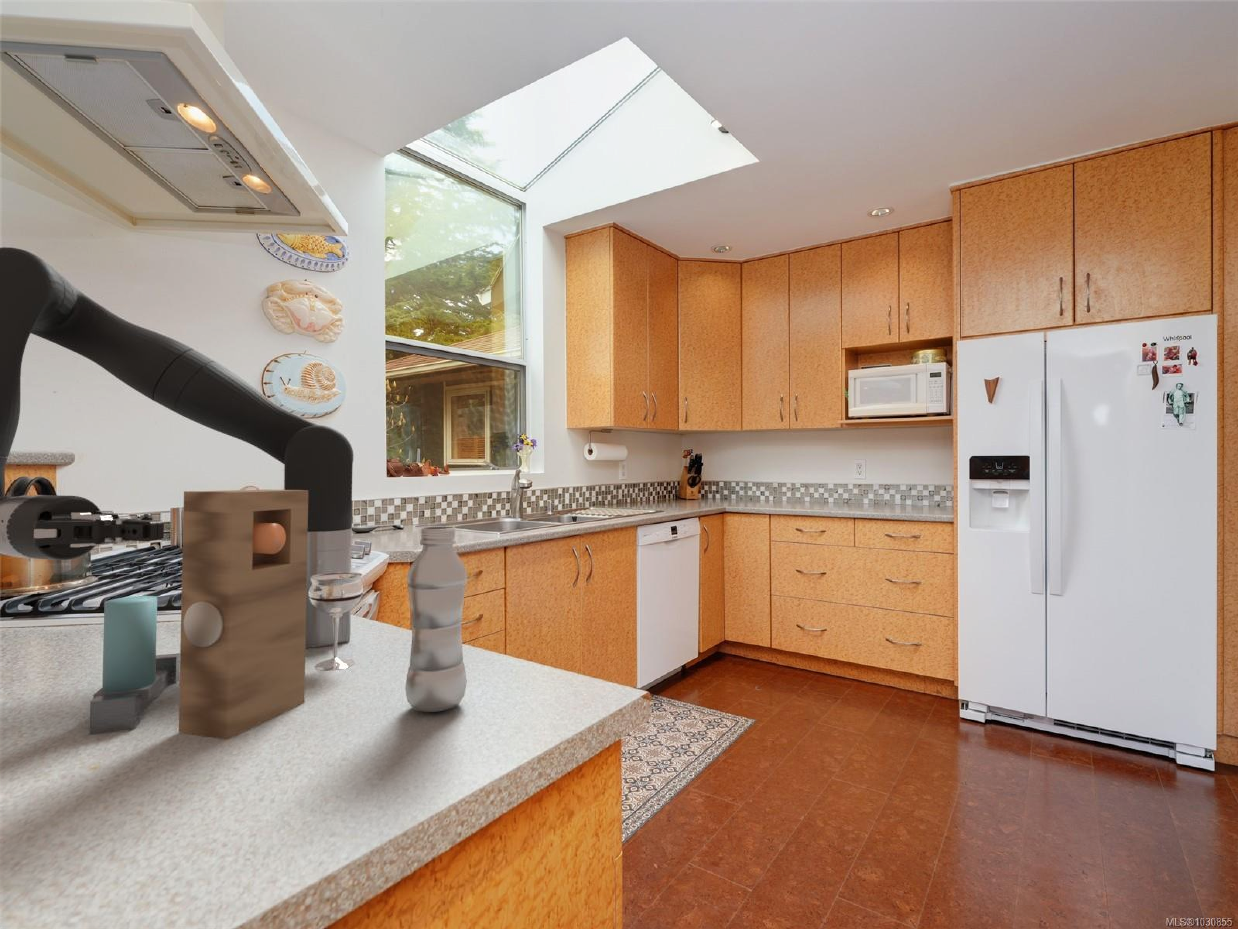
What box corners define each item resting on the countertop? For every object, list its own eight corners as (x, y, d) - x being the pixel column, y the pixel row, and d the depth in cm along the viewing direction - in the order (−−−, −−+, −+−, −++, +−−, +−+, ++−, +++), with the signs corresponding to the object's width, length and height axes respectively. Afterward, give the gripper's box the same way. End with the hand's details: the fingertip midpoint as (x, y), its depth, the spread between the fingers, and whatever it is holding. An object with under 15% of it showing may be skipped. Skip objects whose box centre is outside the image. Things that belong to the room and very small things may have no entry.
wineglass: (334, 654, 86) (336, 570, 87) (373, 660, 84) (374, 573, 84) (295, 669, 80) (296, 578, 80) (335, 675, 78) (336, 581, 78)
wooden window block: (174, 734, 60) (180, 491, 60) (260, 697, 70) (264, 489, 70) (223, 741, 58) (229, 492, 59) (304, 702, 68) (308, 490, 69)
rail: (179, 678, 76) (180, 653, 76) (134, 729, 61) (135, 697, 61) (144, 682, 74) (144, 656, 74) (89, 734, 59) (90, 702, 60)
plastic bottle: (477, 701, 69) (480, 526, 70) (442, 724, 63) (445, 531, 63) (430, 694, 71) (433, 524, 72) (391, 715, 65) (394, 529, 65)
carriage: (162, 684, 67) (164, 594, 68) (148, 698, 63) (150, 602, 63) (110, 689, 66) (112, 597, 66) (93, 704, 61) (95, 606, 62)
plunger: (206, 553, 64) (207, 522, 64) (232, 549, 67) (233, 520, 67) (261, 555, 62) (261, 524, 62) (285, 551, 65) (286, 522, 65)
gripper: (-28, 497, 65) (94, 499, 61) (103, 493, 78) (211, 495, 74) (-30, 566, 65) (92, 573, 61) (101, 551, 78) (210, 557, 74)
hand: (157, 531), depth 68 cm, fingers closed
